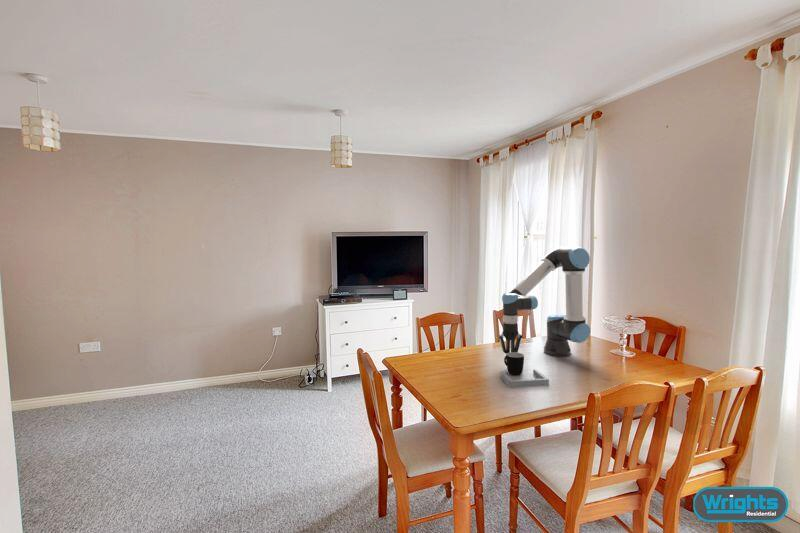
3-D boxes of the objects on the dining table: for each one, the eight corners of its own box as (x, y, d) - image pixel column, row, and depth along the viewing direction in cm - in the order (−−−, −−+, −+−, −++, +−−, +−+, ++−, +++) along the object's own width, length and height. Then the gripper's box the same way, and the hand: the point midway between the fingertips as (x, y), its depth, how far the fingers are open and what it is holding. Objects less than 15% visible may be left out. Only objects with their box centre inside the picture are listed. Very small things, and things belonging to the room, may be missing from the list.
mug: (527, 374, 196) (527, 355, 196) (515, 378, 192) (515, 358, 191) (510, 367, 207) (510, 349, 206) (498, 371, 203) (498, 352, 202)
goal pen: (500, 377, 194) (500, 371, 194) (536, 374, 196) (536, 369, 195) (510, 387, 180) (510, 381, 180) (548, 385, 182) (548, 379, 181)
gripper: (500, 324, 199) (500, 368, 201) (525, 323, 200) (524, 367, 202) (496, 321, 206) (496, 363, 208) (519, 320, 207) (519, 362, 209)
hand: (510, 365), depth 205 cm, fingers closed
